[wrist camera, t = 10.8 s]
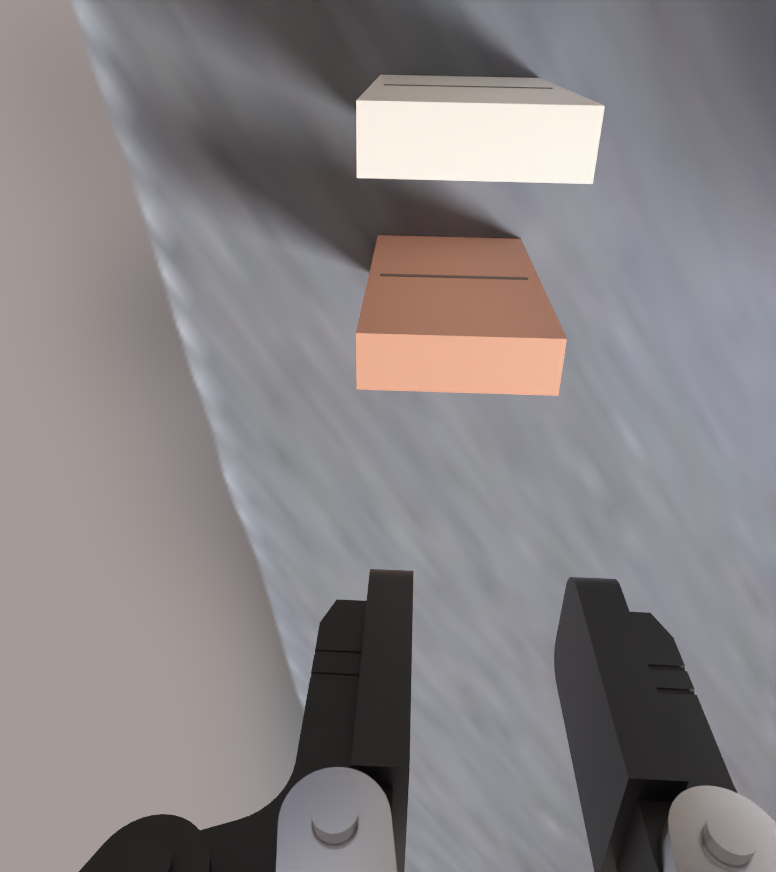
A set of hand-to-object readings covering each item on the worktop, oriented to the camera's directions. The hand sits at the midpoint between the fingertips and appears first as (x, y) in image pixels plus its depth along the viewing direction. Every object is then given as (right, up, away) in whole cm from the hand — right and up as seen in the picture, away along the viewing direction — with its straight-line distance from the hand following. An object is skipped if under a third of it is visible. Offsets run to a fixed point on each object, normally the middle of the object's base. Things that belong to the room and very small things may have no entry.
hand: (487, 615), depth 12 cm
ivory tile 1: (+1, +16, +15) cm, 22 cm away
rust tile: (+1, +11, +18) cm, 21 cm away
